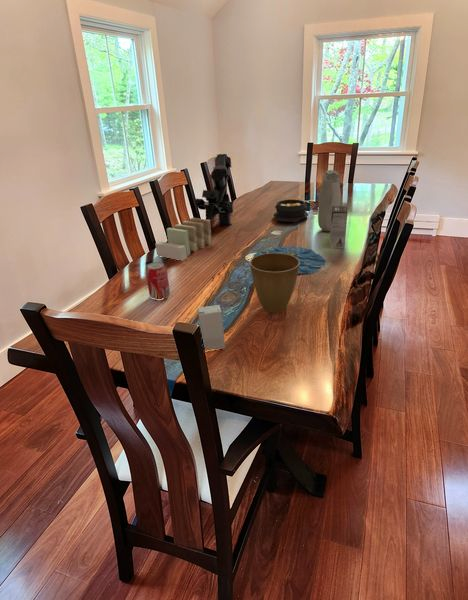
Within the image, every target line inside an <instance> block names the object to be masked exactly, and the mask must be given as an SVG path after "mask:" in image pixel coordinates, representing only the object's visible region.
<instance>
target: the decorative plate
mask: <svg viewBox="0 0 468 600" xmlns="http://www.w3.org/2000/svg"><path fill="white" fill-rule="evenodd" d="M266 253H283V254H288V255H292V256H294V257H296V258H297V259H298V260H299V261H300V264H299V269H298V274H297V275H299V274H304V275H305V274H306V275H308V274H309V275H310V274H311V275H312V274H315V273H316V272H318V271H320V270H321V269H322V268H324V267H325V265H326V263H327V260H326V259H325V258H324V257H323V256H322V255H320V254H318V253H316V252H315V251H314V250H313V249H311V248H308V247H302V246H291V245H290V246H286V245H285V246H278V247H274V248H268V249H266V250H264V249H263V250H260V251H258V252H256V253H254V254H253V257H252V258H254V257H255V256H258V255H261V254H266Z"/></svg>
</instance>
